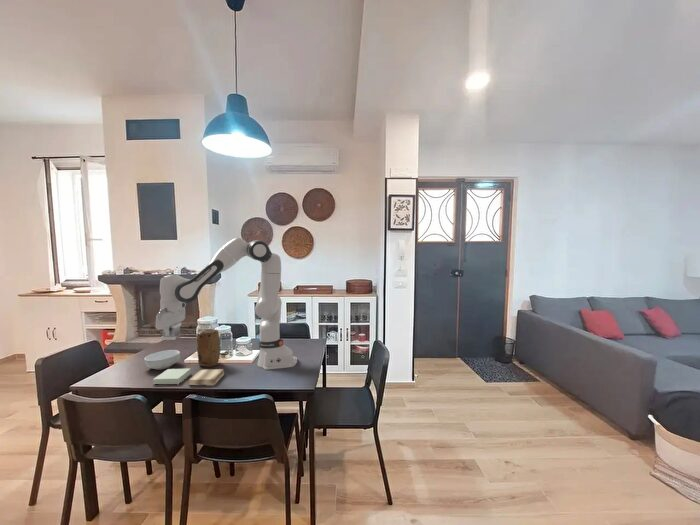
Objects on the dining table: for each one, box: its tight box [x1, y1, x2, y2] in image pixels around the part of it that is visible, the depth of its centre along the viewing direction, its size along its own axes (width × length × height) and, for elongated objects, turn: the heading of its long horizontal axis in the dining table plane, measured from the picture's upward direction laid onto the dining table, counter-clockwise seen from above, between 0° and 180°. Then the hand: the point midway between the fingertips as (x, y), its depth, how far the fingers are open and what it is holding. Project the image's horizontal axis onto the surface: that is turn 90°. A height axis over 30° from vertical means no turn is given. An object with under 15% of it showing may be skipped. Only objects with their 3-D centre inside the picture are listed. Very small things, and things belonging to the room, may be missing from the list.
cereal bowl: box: [143, 349, 181, 370], centre depth 162 cm, size 17×17×7 cm
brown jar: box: [196, 328, 221, 368], centre depth 164 cm, size 11×8×20 cm
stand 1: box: [152, 368, 192, 385], centre depth 146 cm, size 12×12×3 cm
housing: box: [160, 322, 183, 341], centre depth 145 cm, size 7×6×7 cm
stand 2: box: [188, 368, 225, 386], centre depth 145 cm, size 12×12×3 cm
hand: (171, 333), depth 145 cm, fingers closed on housing, 5 cm apart
